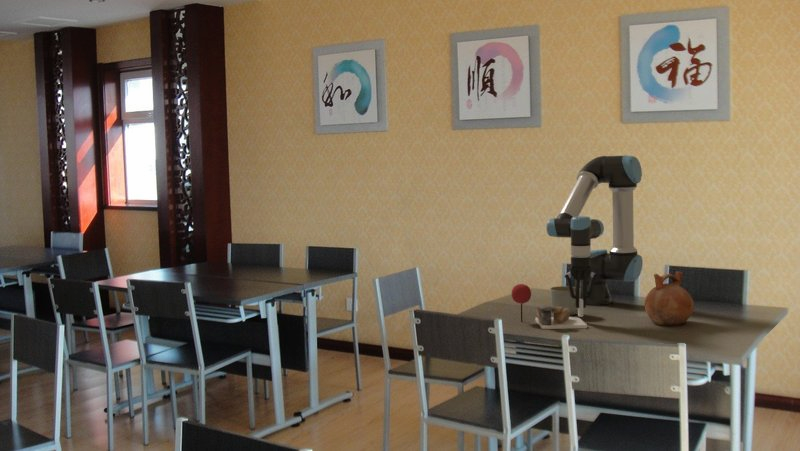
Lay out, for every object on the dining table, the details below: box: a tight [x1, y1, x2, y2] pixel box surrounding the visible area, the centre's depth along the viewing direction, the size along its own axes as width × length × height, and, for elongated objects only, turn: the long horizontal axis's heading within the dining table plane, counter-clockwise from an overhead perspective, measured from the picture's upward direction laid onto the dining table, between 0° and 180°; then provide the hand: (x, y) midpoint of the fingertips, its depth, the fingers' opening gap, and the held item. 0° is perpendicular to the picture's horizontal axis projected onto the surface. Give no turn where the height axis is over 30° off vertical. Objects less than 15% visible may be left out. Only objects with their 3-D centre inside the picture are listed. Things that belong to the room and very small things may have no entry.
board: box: [534, 316, 588, 330], centre depth 318 cm, size 17×16×1 cm
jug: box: [644, 271, 695, 327], centre depth 316 cm, size 18×18×20 cm
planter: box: [549, 285, 581, 317], centre depth 336 cm, size 12×12×11 cm
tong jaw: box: [539, 305, 570, 323], centre depth 316 cm, size 8×16×6 cm, turn 152°
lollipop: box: [511, 283, 532, 322], centre depth 324 cm, size 8×8×15 cm
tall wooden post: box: [536, 306, 552, 325], centre depth 318 cm, size 4×15×6 cm, turn 0°
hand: (580, 315), depth 320 cm, fingers closed
